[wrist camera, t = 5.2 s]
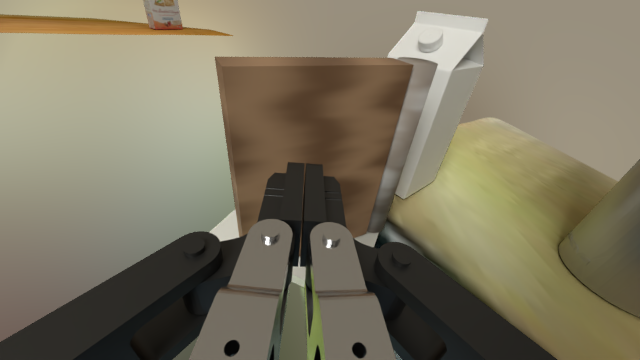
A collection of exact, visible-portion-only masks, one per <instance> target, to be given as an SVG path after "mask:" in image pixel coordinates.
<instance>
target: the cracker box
mask: <svg viewBox="0 0 640 360" xmlns="http://www.w3.org/2000/svg"><path fill="white" fill-rule="evenodd" d="M143 2H144V7H145V10H146V15H147V19H148V23H149V27H150V28H152V29H155V30H166V29H183V28H182V24H181V17H180V11H179V6H178V0H143Z"/></svg>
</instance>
